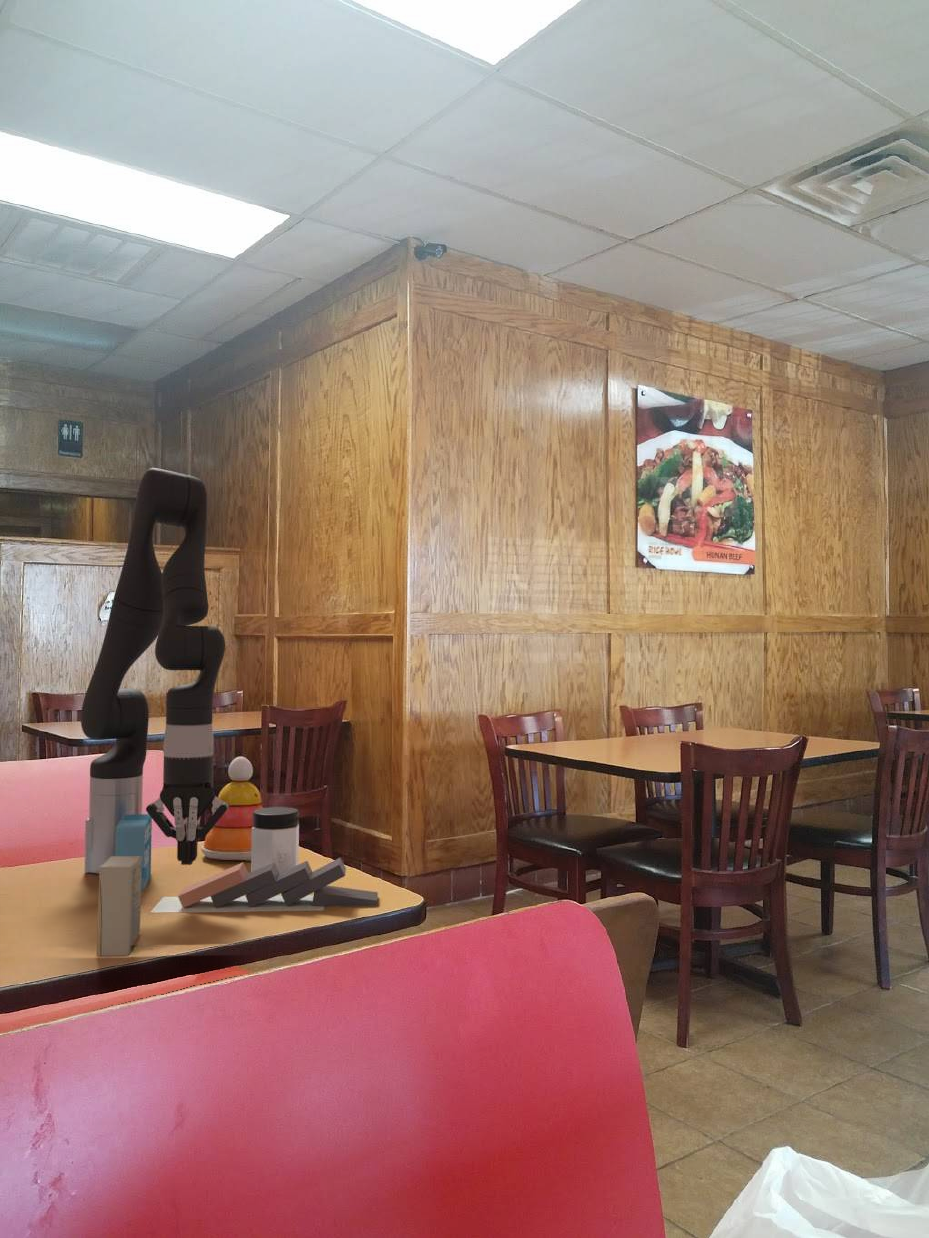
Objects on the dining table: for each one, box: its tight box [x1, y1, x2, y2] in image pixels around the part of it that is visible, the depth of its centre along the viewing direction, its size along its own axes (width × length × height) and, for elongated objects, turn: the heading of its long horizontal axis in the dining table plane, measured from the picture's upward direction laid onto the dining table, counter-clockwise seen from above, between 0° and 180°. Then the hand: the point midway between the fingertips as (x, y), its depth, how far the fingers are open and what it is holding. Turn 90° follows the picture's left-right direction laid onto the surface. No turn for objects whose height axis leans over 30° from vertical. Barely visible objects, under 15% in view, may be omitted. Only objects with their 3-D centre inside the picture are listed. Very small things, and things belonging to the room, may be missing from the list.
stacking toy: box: [200, 756, 264, 862], centre depth 190 cm, size 14×14×20 cm
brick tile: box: [177, 862, 249, 908], centre depth 151 cm, size 2×5×10 cm
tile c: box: [245, 860, 313, 907], centre depth 152 cm, size 2×5×10 cm
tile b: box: [210, 862, 279, 908], centre depth 151 cm, size 2×5×10 cm
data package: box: [115, 813, 153, 892], centre depth 163 cm, size 12×4×12 cm, turn 13°
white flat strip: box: [149, 894, 325, 914], centre depth 151 cm, size 26×9×1 cm, turn 95°
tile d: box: [281, 857, 347, 906], centre depth 152 cm, size 2×5×10 cm
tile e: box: [312, 885, 379, 908], centre depth 153 cm, size 2×5×10 cm
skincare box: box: [96, 856, 142, 957], centre depth 132 cm, size 6×4×12 cm
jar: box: [250, 806, 300, 874], centre depth 172 cm, size 9×8×12 cm
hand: (186, 863), depth 150 cm, fingers closed
